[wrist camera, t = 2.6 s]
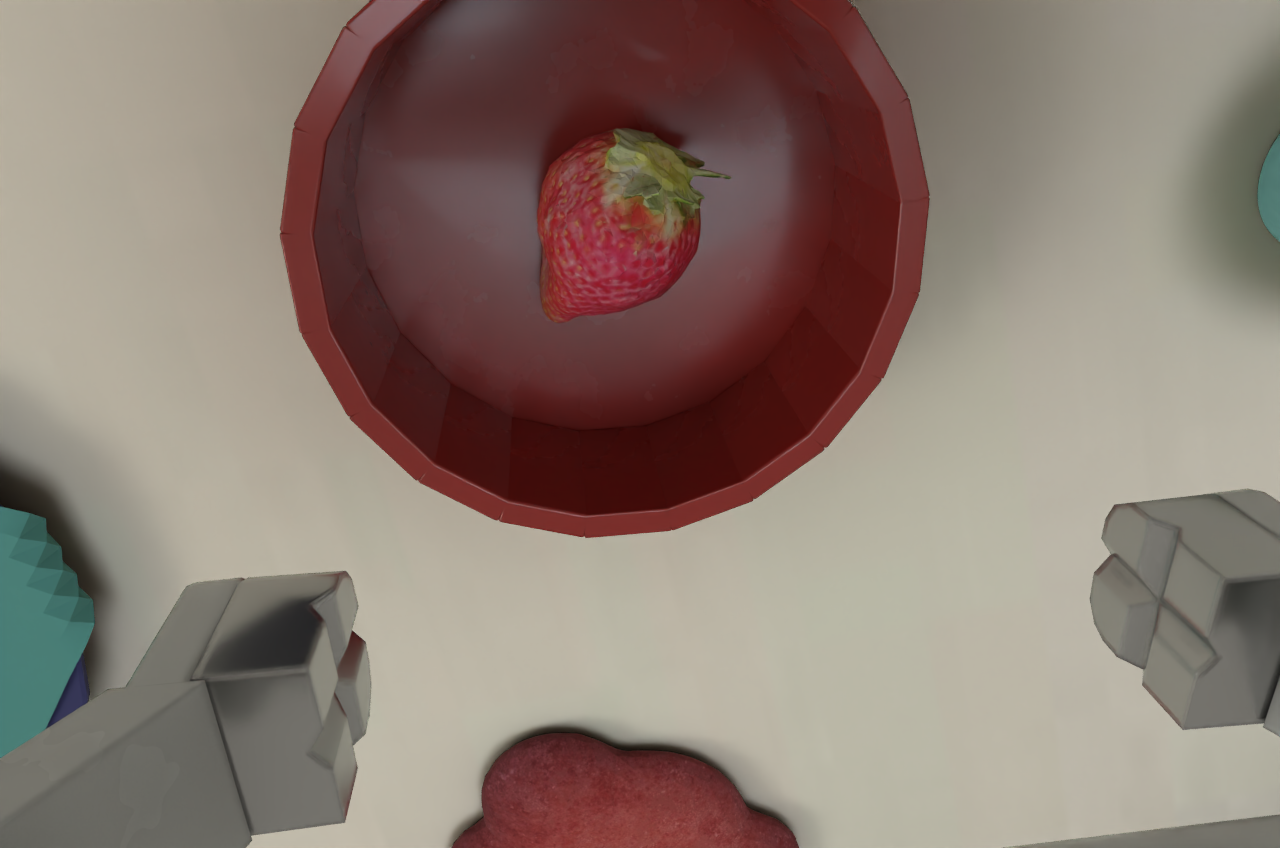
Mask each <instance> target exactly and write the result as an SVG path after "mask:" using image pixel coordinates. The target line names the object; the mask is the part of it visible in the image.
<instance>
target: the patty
mask: <svg viewBox="0 0 1280 848" xmlns="http://www.w3.org/2000/svg"><path fill="white" fill-rule="evenodd" d="M482 808H483V813H484V817H483V818H482V819H481V820H479V821H478V822H477V823H476V824H475V825H473V826H472V827H470V828H468V829H467V830H465V831H464V832H463V833H462V834H461V835H460V836H459V838H458V839H457V840H456V841H455V842H454V844H453V846H452V848H799V846H798V843H797V841H796V838H795V836H794V834H793V833H792V832H791V831H790V830H789V829H788V828H787V827H786V826H785V825H784V824H783V823H781V822H780V821H779V820H778V819H775V818H773V817H770V816H767V815H765V814H762V813H759V812H756V811H754V810H752V809H750V808H749V807H747V806H746V804H745V802H744V800H743V799H742V797H741V795H740V794H739V792H738V790H737V789H736V787H735V786H734V785H733V784H732V783H731V782H730V781H729V780H728V779H727V778H726V777H725V776H724V775H723V774H722V773H721V772H720V771H718V770H717V769H715V768H713V767H711V766H709V765H708V764H706V763H704V762H701V761H699V760H697V759H694V758H692V757H690V756H686V755H682V754H677V753H673V752H667V751H644V750H638V751H624V750H620V749H616V748H614V747H612V746H609V745H607V744H605V743H603V742H601V741H599V740H596V739H593V738H590V737H587V736H584V735H581V734H577V733H549V734H544V735H539V736H535V737H532V738H529V739H526V740H523V741H521V742H519V743H517V744H516V745H514V746H512V747H511V748H509V749H508V750H507V751H505V752H504V753H503V754H502V755H501V756H499V757H498V758H497V759H496V761H495V762H494V764H493V765H492V767H491V768H490V770H489V771H488V773H487V774H486V776H485V780H484V783H483V787H482Z"/></svg>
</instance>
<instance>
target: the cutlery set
mask: <svg viewBox="0 0 1280 848" xmlns="http://www.w3.org/2000/svg"><path fill="white" fill-rule="evenodd" d="M94 624H95V617H94V606H93V599H92V598H90V597H89V596H88V595H87V594H86V593H85V592H84V591H83V590H82V589H81V588H80V587H79V586H78V580H77V574H76V573H75V572H74V571H73V570H72V569H71V568H70V567H69V566H68V565H67V564H65V563H64V562H63V561H62V549H61V546H60V545H59V544H58V543H57V542H56V541H55V540H54V539H53V538H52V537H51V536H50V534H49V533H48V532H47V531H46V518H43V517H40V516H37V515H34V514H31V513H27V512H22V511H18V510H14V509H9V508H5V507H3V506H2V505H1V504H0V758H2V757H3V756H5V755H6V754H8V753H9V752H11V751H13V750H14V749H16V748H17V747H19V746H20V745H22V744H24V743H25V742H27V741H28V740H30V739H31V738H33V737H35V736H36V735H38V734H39V733H41V732H42V731H44V730H45V729H47V728H49V727H50V726H52V725H53V724H55V723H56V722H58V721H60V720H61V719H63V718H64V717H66V716H67V715H69V714H70V713H72V712H74V711H75V710H77V709H78V708H80V707H81V706H83V705H85V704H86V703H87V702H88V699H89V695H90V689H89V683H88V677H87V672H86V666H85V660H84V655H83V651H84V649H85V647H86V645H87V642H88V640H89V637H90V635H91V632H92V629H93V627H94Z"/></svg>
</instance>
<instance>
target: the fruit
mask: <svg viewBox="0 0 1280 848" xmlns="http://www.w3.org/2000/svg"><path fill="white" fill-rule="evenodd" d="M704 164H705V163H704V161H702V160H699V159H697V158H695V157H693V156H691V155H690V154H688V153H686V152H684V151H680V150H679V149H677V148H675V147H673V146H671V145H669V144H667V143H666V142H664V141H662V140H661V139H659V138H658V137H657V136H656V135H655V134H654V133H649V132H643V131H639V130H634V129H628V128H621V129H613V130H610V131H606V132H603V133H598V134H594V135H592V136H589V137H587V138H585V139H582V140H580V141H579V142H578V143H576V144H575V145H574V146H573V147H571V148H570V149H568V150H567V151H565V152H564V153H563V154H562V155H561V156H560V157H559V158H558V159H557V160H555V161H554V162H553V163H552V164H551V165H550V166H549V169H548V172H547V175H546V177H545V179H544V181H543V183H542V190H541V194H540V202H539V207H538V209H537V223H538V226H537V231H538V235H539V239H540V242H541V244H542V247H543V251H542V267H541V275H540V296H541V303H542V307H543V310H544V312H545V314H546V316H547V317H548V318H549V319H550V320H552V321H554V322H556V323H562V322H568V321H569V320H571V319H573V318H576V317H579V316H587V315H588V316H594V315H598V314H600V315H605V314H610V313H616V312H621V311H625V310H627V309H630V308H633V307H636V306H639V305H642V304H644V303H646V302H649V301H652V300H654V299H657V298H660V297H661V296H662V295H663V294H664V293H666V292H667V291H668V290H669V289H670V288H671V287H672V286H673V285H674V284H675V283H676V282H677V281H678V280H679V278H680V277H681V276H682V274H683V273H684V271H685V270H686V268H687V266H688V265H689V263H690V261H691V260H692V259H693V257H694V255H695V253H696V252H697V250H698V243H699V237H700V227H701V215H700V208H701V207H700V204H701V199H705V197H704V196H703V195H702V194H701V193H700V192H699V191H697V190H695V189H694V188H693V187H692V186H691V185H690V181H691V180H692V179H693V177H694V176H704V177H714V178H719V177H723V178H725V179H731V177H730V176H727V175H724V174H721V173H714V172H712V171H709V170H705V169H699V168H700V167H703V166H704Z"/></svg>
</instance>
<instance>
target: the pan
mask: <svg viewBox="0 0 1280 848" xmlns="http://www.w3.org/2000/svg"><path fill="white" fill-rule="evenodd" d="M294 126H295V127H294V129H293V132H292V140H291V148H290V156H289V164H288V171H287V179H286V187H285V195H284V203H283V210H282V218H281V226H280V230H281V233H280V239H281V244H282V248H283V253H284V258H285V263H286V268H287V273H288V278H289V282H290V287H291V292H292V297H293V302H294V307H295V312H296V316H297V321H298V326H299V331H300V333H302V337H303V339H304V340H305V342H306V344H307V346H308V347H309V349H310V351H311V353H312V354H313V356H314V358H315V360H316V361H317V363H318V365H319V367H320V368H321V370H322V372H323V374H324V375H325V377H326V379H327V381H328V382H329V384H330V386H331V388H332V389H333V391H334V393H335V395H336V396H337V398H338V400H339V402H340V403H341V405H342V407H343V408H344V410H345V412H346V414H347V415H348V416H350V419H351V421H353V422H354V423H355V424H356V425H357V426H358V427H359V428H360V429H361V430H362V431H363V432H364V433H365V434H367V435H368V436H369V437H370V438H371V439H372V440H373V441H374V442H375V443H376V444H377V445H378V446H379V447H380V448H382V449H383V450H384V451H385V452H386V453H387V454H388V455H389V456H390V457H391V458H392V459H393V460H394V461H396V462H397V463H398V464H399V465H400V466H401V467H402V468H403V469H404V470H405V471H406V472H407V473H408V474H410V475H411V476H412V477H413V478H414V479H415V480H418V481H419V482H420V483H421V484H424V485H426V486H428V487H430V488H432V489H434V490H436V491H438V492H440V493H442V494H444V495H446V496H448V497H450V498H452V499H454V500H456V501H458V502H460V503H462V504H464V505H466V506H468V507H470V508H472V509H474V510H476V511H478V512H480V513H482V514H484V515H486V516H488V517H490V518H492V519H494V520H498V519H499V521H500V522H504V523H509V524H514V525H520V526H525V527H531V528H536V529H541V530H547V531H552V532H557V533H563V534H568V535H573V536H579V537H584V536H585V538H591V537H603V536H615V535H627V534H638V533H650V532H662V531H670V530H671V529H672V530H675V529H678V528H680V527H683V526H686V525H689V524H691V523H694V522H697V521H700V520H702V519H705V518H708V517H711V516H713V515H716V514H719V513H722V512H724V511H727V510H730V509H732V508H735V507H738V506H741V505H743V504H746V503H749V502H752V501H753V499H756V498H757V497H759V496H760V495H762V494H763V493H764V492H766V491H767V490H769V489H770V488H772V487H773V486H774V485H776V484H777V483H779V482H780V481H781V480H783V479H784V478H786V477H787V476H788V475H790V474H791V473H793V472H794V471H796V470H797V469H798V468H800V467H801V466H803V465H804V464H805V463H807V462H808V461H810V460H811V459H812V458H814V457H815V456H817V455H818V454H820V453H821V452H822V451H823V450H824V447H825V448H826V447H828V446H829V444H830V443H831V442H832V441H833V440H834V438H835V437H836V436H837V435H838V433H839V432H840V431H841V430H842V428H843V427H844V426H845V425H846V424H847V422H848V421H849V420H850V419H851V417H852V416H853V415H854V414H855V412H856V411H857V410H858V409H859V408H860V406H861V405H862V404H863V403H864V401H865V400H866V399H867V398H868V396H869V395H870V394H871V393H872V392H873V390H874V389H875V388H876V387H877V385H878V384H879V383H880V382H881V378H884V376H885V374H886V371H887V369H888V367H889V364H890V362H891V359H892V357H893V355H894V352H895V350H896V348H897V345H898V343H899V341H900V338H901V336H902V334H903V331H904V329H905V326H906V324H907V322H908V319H909V317H910V315H911V312H912V310H913V308H914V305H915V303H916V301H917V298H918V296H919V292H920V285H921V275H922V266H923V257H924V247H925V238H926V228H927V219H928V209H929V200H930V198H929V190H928V185H927V180H926V175H925V171H924V166H923V161H922V156H921V152H920V147H919V142H918V137H917V133H916V128H915V123H914V118H913V114H912V109H911V104H910V99H909V98H908V94H907V93H906V91H905V89H904V88H903V86H902V84H901V83H900V81H899V79H898V78H897V76H896V74H895V73H894V71H893V69H892V68H891V66H890V64H889V62H888V61H887V59H886V57H885V56H884V54H883V52H882V51H881V49H880V47H879V46H878V44H877V42H876V41H875V39H874V37H873V36H872V34H871V32H870V31H869V29H868V27H867V25H866V24H865V22H864V20H863V19H862V17H861V15H860V14H859V12H858V10H857V9H856V7H852V4H851V2H849V1H848V0H371V1H370V2H369V3H367V4H366V5H365V6H364V7H363V8H362V9H361V10H360V11H359V12H358V13H357V14H356V15H355V16H353V17H352V18H351V19H350V20H349V21H348V22H347V24H346V26H344V27H343V28H342V30H341V32H340V34H339V36H338V38H337V40H336V42H335V44H334V46H333V48H332V50H331V52H330V54H329V56H328V58H327V60H326V62H325V64H324V66H323V68H322V70H321V72H320V74H319V76H318V78H317V80H316V82H315V84H314V86H313V88H312V89H311V91H310V93H309V95H308V97H307V99H306V101H305V103H304V105H303V107H302V109H301V111H300V113H299V115H298V117H297V119H296V121H295V123H294ZM621 128H628V129H634V130H639V131H643V132H649V133H654V134H655V135H656V136H657V137H658V138H659V139H661V140H662V141H664V142H666V143H667V144H669V145H671V146H673V147H675V148H677V149H679V150H680V151H684V152H686V153H688V154H690V155H691V156H693V157H695V158H697V159H699V160H702V161H704V163H705V164H704V166H703V167H700V168H699V169H705V170H709V171H712V172H714V173H721V174H724V175H727V176H730V177H731V179H725V178H723V177H719V178H714V177H704V176H694V177H693V179H692V180H691V181H690V185H691V186H692V187H693V188H694V189H695V190H697V191H699V192H700V193H701V194H702V195H703V196H704V197H705V199H701V204H700V207H701V208H700V215H701V227H700V237H699V243H698V250H697V252H696V253H695V255H694V257H693V259H692V260H691V261H690V263H689V265H688V266H687V268H686V270H685V271H684V273H683V274H682V276H681V277H680V278H679V280H678V281H677V282H676V283H675V284H674V285H673V286H672V287H671V288H670V289H669V290H668V291H667V292H666V293H664V294H663V295H662V296H661V297H660V298H657V299H654V300H652V301H649V302H646V303H644V304H642V305H639V306H636V307H633V308H630V309H627V310H625V311H621V312H616V313H610V314H605V315H600V314H598V315H594V316H588V315H587V316H579V317H576V318H573V319H571V320H569V321H568V322H562V323H556V322H554V321H552V320H550V319H549V318H548V317H547V316H546V314H545V312H544V310H543V307H542V303H541V296H540V275H541V267H542V251H543V247H542V244H541V242H540V239H539V235H538V231H537V226H538V223H537V209H538V207H539V202H540V194H541V190H542V183H543V181H544V179H545V177H546V175H547V172H548V169H549V166H550V165H551V164H552V163H553V162H554V161H555V160H557V159H558V158H559V157H560V156H561V155H562V154H563V153H564V152H565V151H567V150H568V149H570V148H571V147H573V146H574V145H575V144H576V143H578V142H579V141H580V140H582V139H585V138H587V137H589V136H592V135H594V134H598V133H603V132H606V131H610V130H613V129H621Z"/></svg>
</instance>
